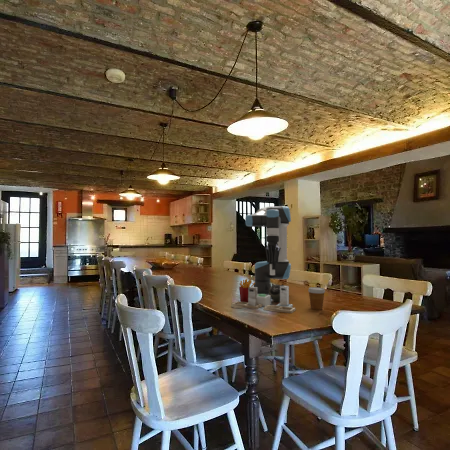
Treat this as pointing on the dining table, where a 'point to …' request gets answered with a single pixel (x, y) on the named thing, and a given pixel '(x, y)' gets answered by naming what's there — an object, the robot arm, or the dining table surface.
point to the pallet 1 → (249, 300)
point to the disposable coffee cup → (316, 297)
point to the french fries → (244, 290)
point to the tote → (286, 306)
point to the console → (264, 300)
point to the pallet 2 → (279, 308)
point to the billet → (284, 295)
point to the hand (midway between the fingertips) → (272, 275)
